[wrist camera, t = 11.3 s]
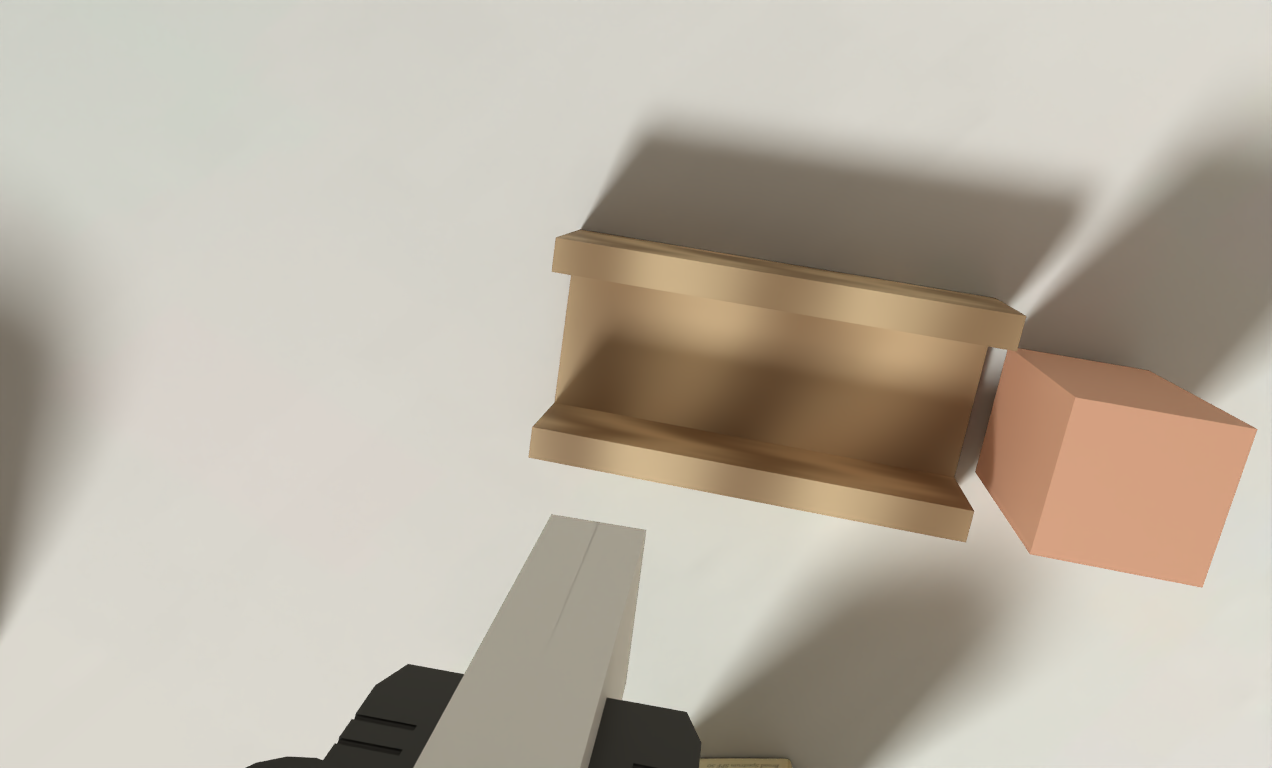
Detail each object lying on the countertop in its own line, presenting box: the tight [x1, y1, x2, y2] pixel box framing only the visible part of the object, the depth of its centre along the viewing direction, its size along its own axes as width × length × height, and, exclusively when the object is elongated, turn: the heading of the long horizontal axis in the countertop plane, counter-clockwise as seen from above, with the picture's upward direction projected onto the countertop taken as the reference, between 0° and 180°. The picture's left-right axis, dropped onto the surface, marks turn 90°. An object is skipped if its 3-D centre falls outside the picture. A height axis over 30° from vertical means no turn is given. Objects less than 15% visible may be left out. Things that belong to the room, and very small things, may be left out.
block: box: [975, 348, 1257, 587], centre depth 30 cm, size 5×5×8 cm
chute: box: [529, 230, 1026, 542], centre depth 33 cm, size 16×8×4 cm, turn 81°
